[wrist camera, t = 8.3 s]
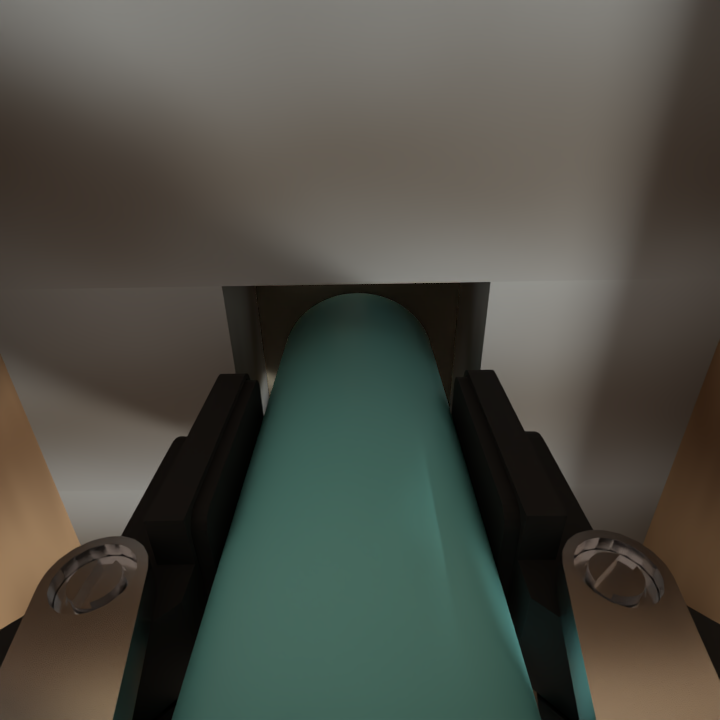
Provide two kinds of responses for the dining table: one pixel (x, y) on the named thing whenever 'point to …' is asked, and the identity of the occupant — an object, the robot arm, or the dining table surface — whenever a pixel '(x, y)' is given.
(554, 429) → the box
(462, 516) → the peg
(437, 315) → the dining table surface
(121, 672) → the robot arm
